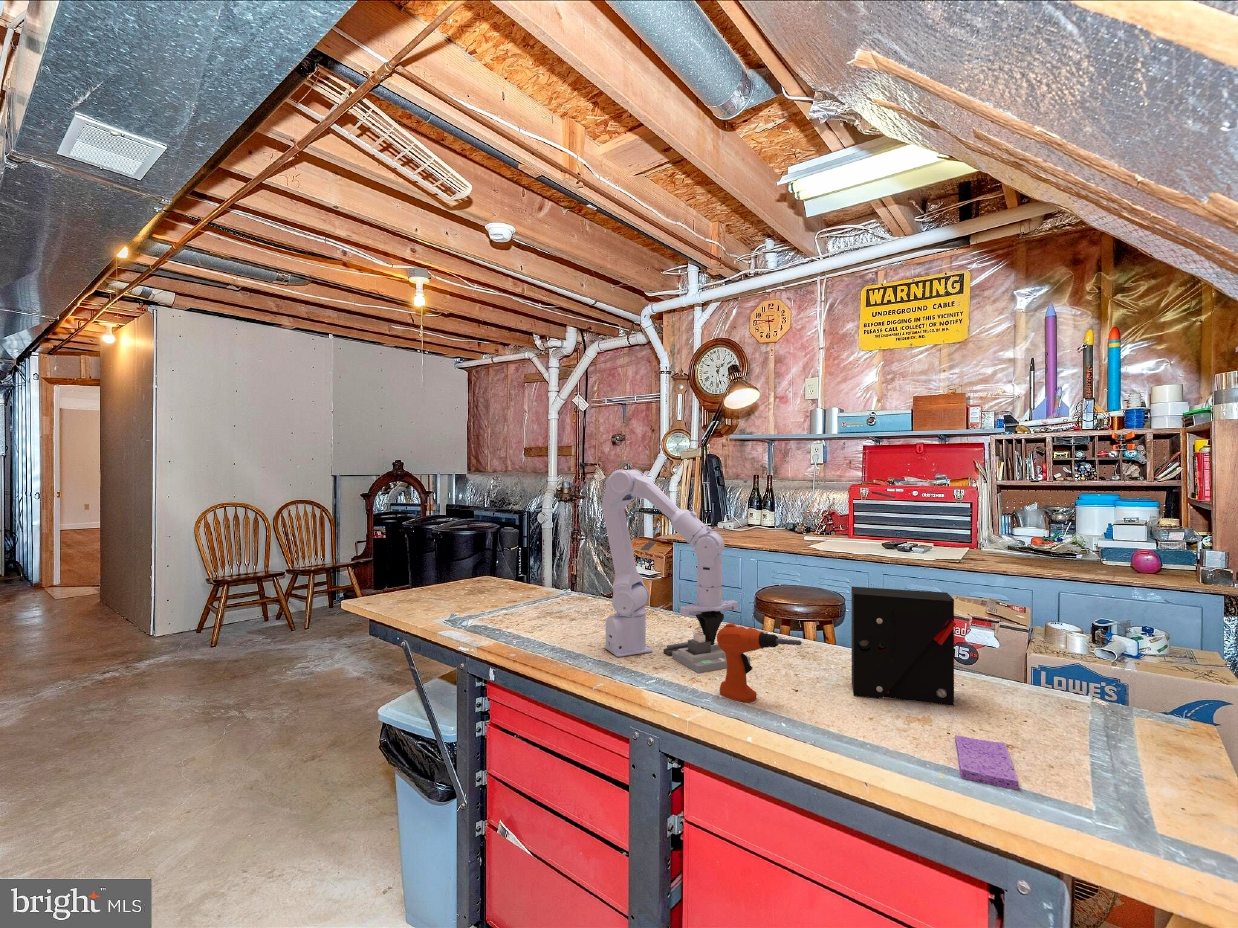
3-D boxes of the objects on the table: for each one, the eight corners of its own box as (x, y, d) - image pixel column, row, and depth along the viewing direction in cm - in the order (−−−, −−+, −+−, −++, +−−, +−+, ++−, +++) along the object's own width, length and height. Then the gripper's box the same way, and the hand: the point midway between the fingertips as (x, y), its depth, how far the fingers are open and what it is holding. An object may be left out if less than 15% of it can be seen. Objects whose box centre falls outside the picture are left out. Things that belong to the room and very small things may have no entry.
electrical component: (945, 689, 116) (944, 590, 116) (956, 709, 106) (956, 601, 106) (851, 679, 122) (850, 584, 122) (853, 697, 112) (853, 594, 112)
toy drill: (804, 712, 102) (794, 629, 103) (715, 698, 113) (707, 624, 114) (814, 704, 105) (804, 624, 106) (727, 691, 117) (719, 620, 118)
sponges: (960, 781, 83) (960, 768, 83) (954, 743, 94) (954, 732, 94) (1019, 793, 80) (1019, 780, 80) (1005, 753, 91) (1005, 741, 91)
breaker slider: (696, 659, 129) (696, 637, 129) (687, 654, 132) (687, 633, 132) (710, 656, 131) (710, 635, 131) (702, 652, 134) (702, 631, 134)
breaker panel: (698, 673, 125) (698, 660, 125) (672, 657, 135) (672, 646, 135) (750, 663, 131) (750, 651, 131) (721, 649, 141) (721, 638, 141)
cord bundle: (669, 656, 136) (669, 646, 136) (663, 652, 138) (663, 643, 138) (718, 648, 142) (718, 639, 142) (712, 645, 144) (712, 636, 144)
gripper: (692, 591, 126) (692, 653, 126) (745, 585, 132) (745, 644, 132) (675, 585, 132) (675, 644, 132) (727, 579, 139) (727, 636, 139)
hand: (709, 643), depth 133 cm, fingers closed
